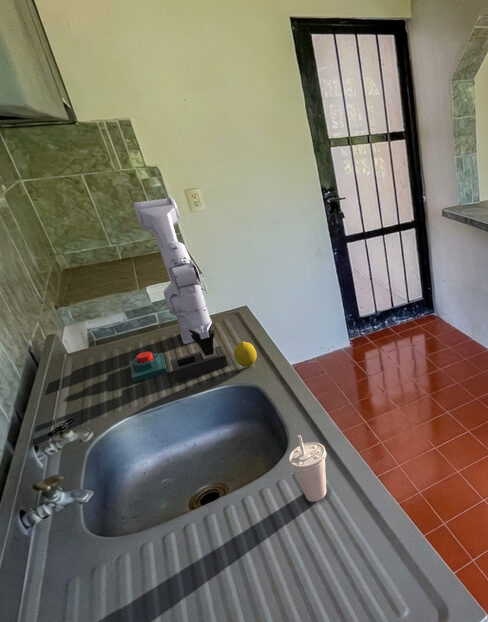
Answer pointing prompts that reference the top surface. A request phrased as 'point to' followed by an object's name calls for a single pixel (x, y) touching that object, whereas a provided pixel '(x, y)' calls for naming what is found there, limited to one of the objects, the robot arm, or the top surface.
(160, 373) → the switch block
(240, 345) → the lemon
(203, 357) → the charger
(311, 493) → the smoothie
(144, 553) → the top surface
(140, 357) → the power button
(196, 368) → the dark grey slotted block
